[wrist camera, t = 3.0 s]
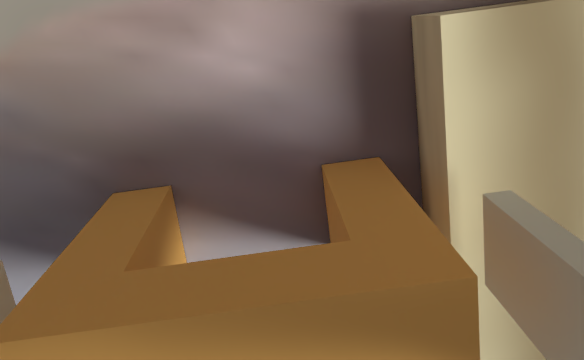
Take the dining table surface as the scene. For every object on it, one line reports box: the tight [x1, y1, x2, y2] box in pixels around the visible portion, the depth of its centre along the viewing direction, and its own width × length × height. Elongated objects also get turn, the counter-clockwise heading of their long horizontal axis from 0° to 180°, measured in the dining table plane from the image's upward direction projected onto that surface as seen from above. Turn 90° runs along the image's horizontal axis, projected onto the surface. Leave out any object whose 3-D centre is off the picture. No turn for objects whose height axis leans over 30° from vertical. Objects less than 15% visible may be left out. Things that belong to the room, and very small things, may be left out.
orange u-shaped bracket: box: [0, 157, 480, 360], centre depth 15 cm, size 9×3×9 cm, turn 97°
